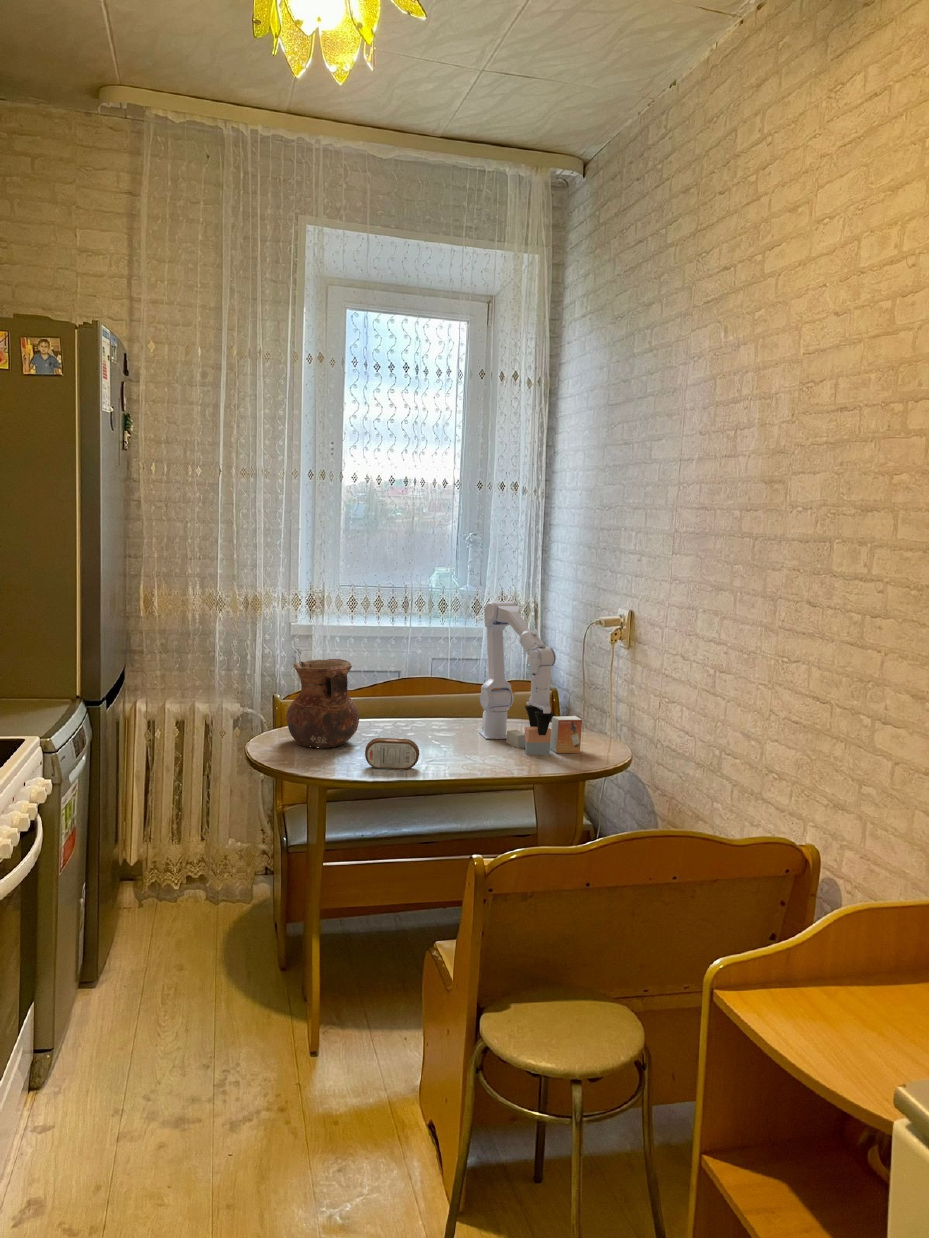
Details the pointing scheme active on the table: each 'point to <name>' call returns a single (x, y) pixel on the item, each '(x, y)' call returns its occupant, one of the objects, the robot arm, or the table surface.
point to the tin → (392, 753)
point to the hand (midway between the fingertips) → (538, 732)
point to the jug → (323, 705)
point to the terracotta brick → (536, 735)
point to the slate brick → (537, 748)
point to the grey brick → (516, 738)
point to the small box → (566, 734)
